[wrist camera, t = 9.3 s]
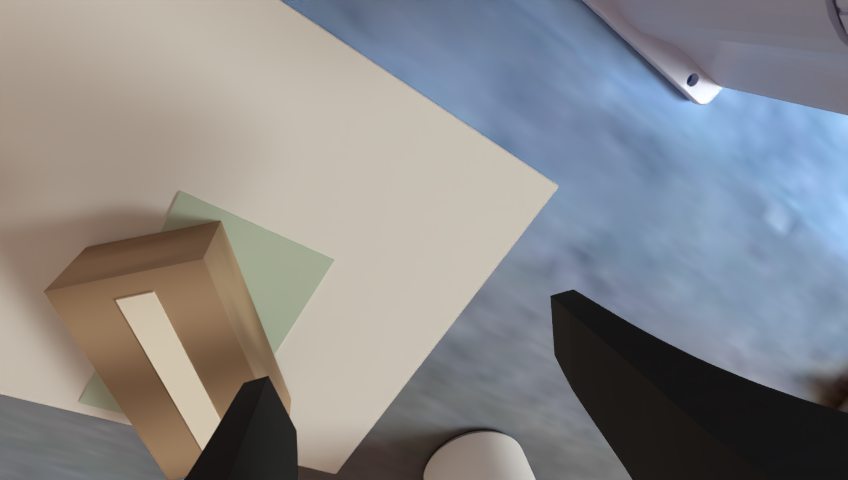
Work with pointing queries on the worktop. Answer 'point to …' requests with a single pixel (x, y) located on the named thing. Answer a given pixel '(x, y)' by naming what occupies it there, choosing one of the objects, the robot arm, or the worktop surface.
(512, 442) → the can
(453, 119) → the mat
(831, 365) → the worktop surface
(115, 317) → the tissue box
